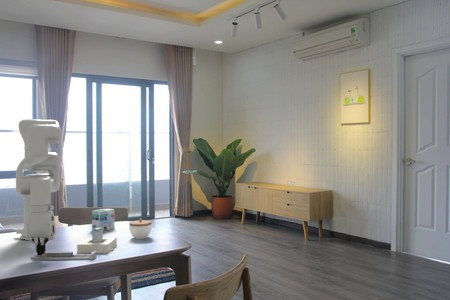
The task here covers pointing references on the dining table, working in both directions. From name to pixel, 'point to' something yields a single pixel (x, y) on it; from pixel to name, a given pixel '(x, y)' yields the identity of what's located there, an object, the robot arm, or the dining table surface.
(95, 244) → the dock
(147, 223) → the lidded jar
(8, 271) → the dining table surface
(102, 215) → the light bulb box
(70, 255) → the lock pin
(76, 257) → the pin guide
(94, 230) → the grey canister
